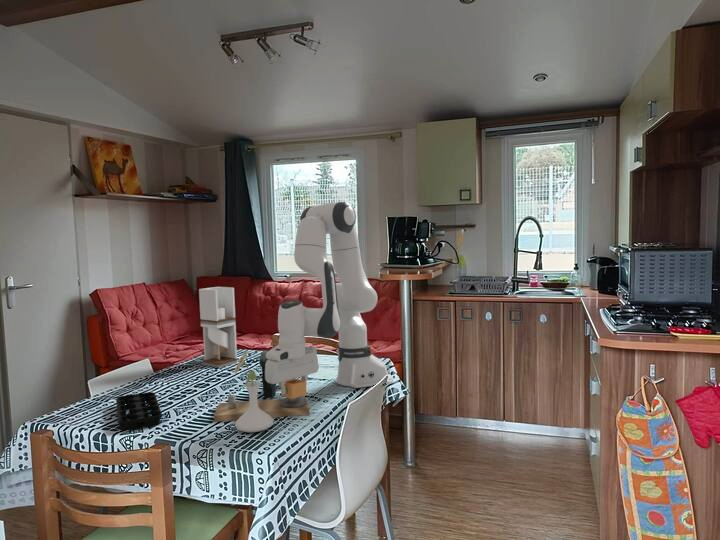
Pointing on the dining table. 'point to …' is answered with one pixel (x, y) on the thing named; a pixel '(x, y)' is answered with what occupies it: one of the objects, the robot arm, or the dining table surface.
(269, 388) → the green animal figurine
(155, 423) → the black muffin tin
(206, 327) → the white block sculpture
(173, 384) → the dining table surface
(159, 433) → the dining table surface
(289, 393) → the orange slotted block
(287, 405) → the base board
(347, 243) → the robot arm
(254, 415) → the flower in vase
